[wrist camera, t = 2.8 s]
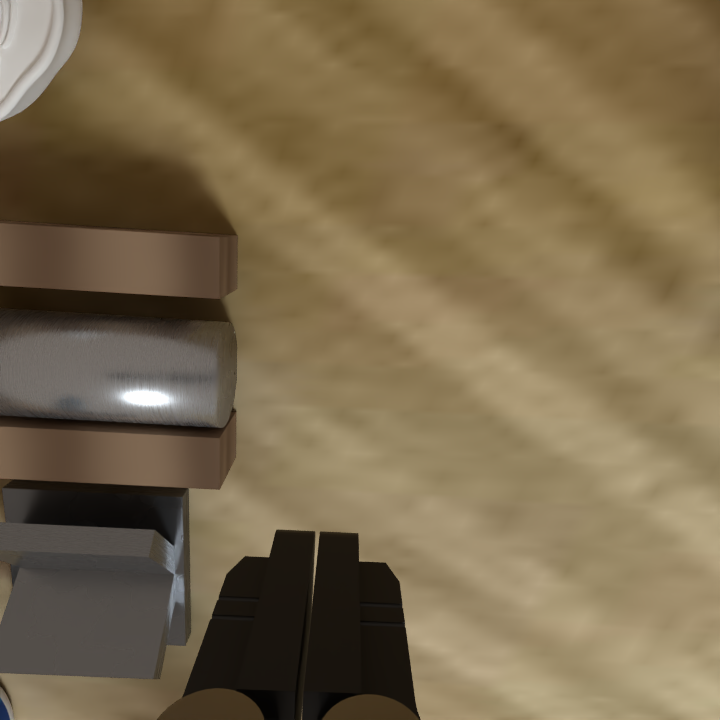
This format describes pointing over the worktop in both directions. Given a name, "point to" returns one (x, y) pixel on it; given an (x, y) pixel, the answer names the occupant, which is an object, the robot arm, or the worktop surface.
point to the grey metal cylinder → (116, 368)
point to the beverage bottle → (5, 707)
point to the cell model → (34, 48)
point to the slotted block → (119, 275)
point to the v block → (94, 578)
